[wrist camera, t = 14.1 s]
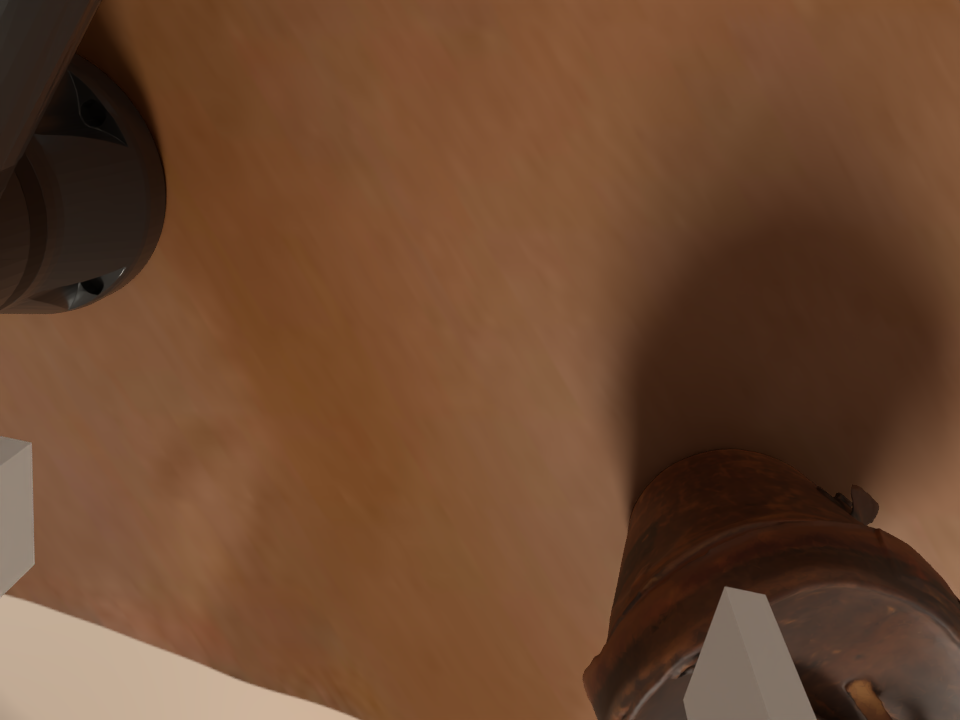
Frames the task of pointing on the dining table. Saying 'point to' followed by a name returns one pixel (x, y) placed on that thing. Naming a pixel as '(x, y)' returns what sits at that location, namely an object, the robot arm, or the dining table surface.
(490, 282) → the dining table surface
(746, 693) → the robot arm
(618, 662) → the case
